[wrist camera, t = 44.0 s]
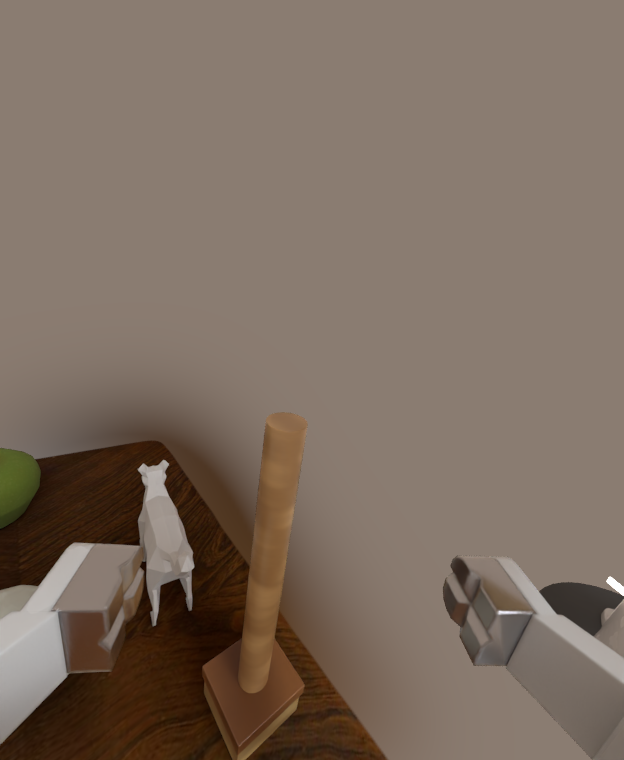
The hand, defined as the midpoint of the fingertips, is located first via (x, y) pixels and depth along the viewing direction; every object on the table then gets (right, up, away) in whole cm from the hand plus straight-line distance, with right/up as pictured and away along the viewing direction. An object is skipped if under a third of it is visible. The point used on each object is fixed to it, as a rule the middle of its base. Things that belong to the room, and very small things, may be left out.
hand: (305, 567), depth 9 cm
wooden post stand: (-5, -24, +21) cm, 32 cm away
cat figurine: (-17, -19, +30) cm, 39 cm away
